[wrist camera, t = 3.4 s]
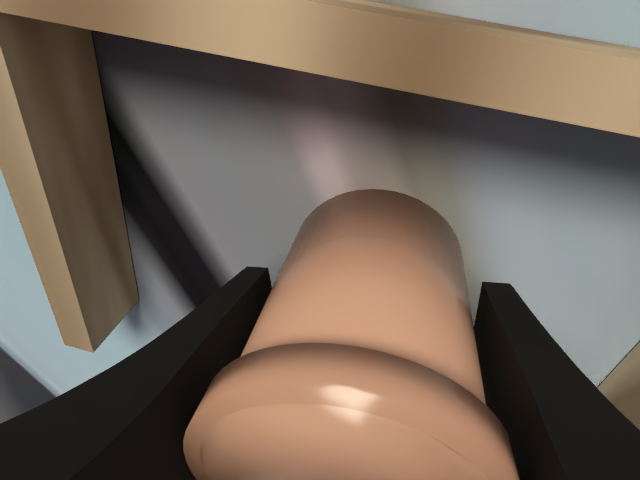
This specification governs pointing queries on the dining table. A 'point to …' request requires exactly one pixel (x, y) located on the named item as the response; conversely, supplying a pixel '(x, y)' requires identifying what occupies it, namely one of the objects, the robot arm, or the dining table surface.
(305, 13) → the tan wooden bent bar
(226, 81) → the dining table surface
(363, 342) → the terracotta pot
